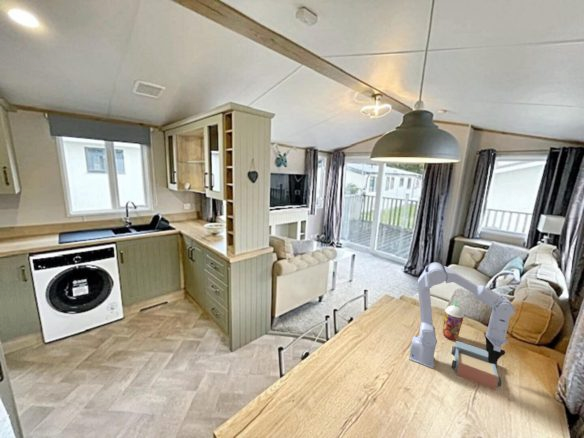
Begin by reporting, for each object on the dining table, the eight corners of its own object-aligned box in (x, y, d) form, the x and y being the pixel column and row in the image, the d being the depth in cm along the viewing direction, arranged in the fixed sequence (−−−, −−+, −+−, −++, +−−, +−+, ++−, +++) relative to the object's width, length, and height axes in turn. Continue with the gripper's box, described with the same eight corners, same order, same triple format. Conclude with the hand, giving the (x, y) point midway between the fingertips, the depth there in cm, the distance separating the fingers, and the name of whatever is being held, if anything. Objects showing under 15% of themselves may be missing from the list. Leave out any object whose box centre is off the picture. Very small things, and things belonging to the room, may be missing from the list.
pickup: (451, 371, 108) (453, 361, 108) (451, 349, 123) (453, 339, 122) (500, 390, 100) (503, 378, 99) (494, 363, 115) (496, 353, 114)
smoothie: (454, 332, 136) (460, 298, 132) (462, 343, 128) (470, 306, 124) (437, 331, 137) (443, 296, 133) (445, 341, 129) (452, 304, 125)
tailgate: (456, 374, 107) (458, 363, 106) (456, 373, 107) (458, 362, 106) (495, 390, 100) (498, 377, 99) (495, 388, 101) (498, 376, 100)
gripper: (514, 340, 93) (506, 373, 95) (507, 321, 105) (500, 351, 108) (490, 333, 96) (482, 364, 99) (486, 316, 109) (479, 344, 111)
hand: (490, 357), depth 104 cm, fingers open, 7 cm apart
